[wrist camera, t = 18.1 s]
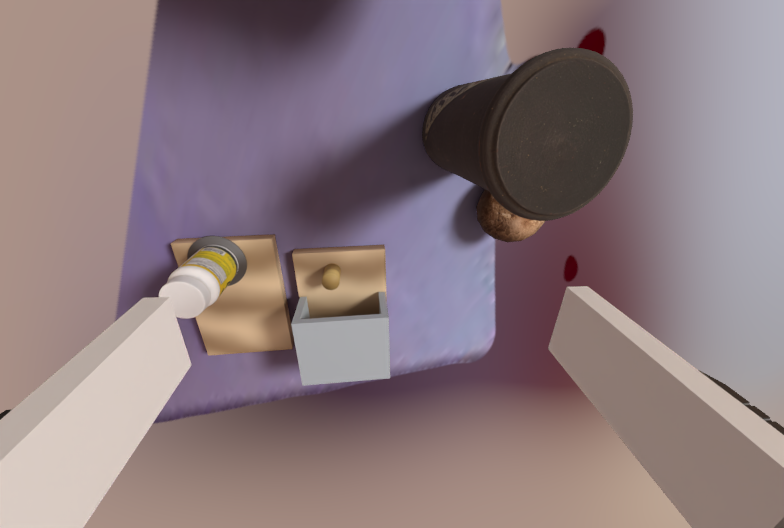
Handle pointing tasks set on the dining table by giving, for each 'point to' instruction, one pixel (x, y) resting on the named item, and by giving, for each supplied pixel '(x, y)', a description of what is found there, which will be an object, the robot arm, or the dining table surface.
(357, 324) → the cover
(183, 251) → the board
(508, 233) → the mushroom
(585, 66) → the container
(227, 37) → the dining table surface
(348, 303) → the pattern board
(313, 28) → the dining table surface
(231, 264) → the supplement bottle
